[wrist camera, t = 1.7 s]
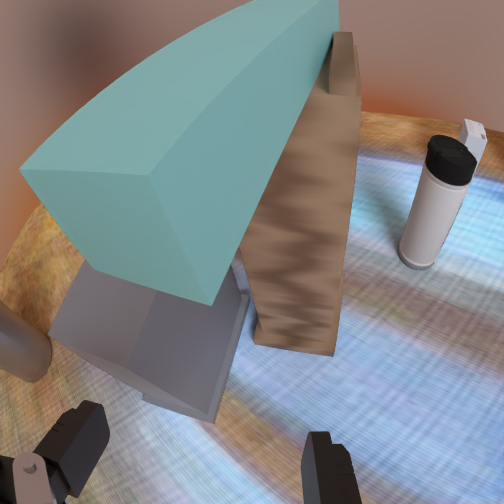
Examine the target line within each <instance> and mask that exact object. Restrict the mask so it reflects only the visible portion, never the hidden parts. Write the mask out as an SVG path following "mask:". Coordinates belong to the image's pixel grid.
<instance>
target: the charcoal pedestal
mask: <svg viewBox="0 0 504 504" xmlns="http://www.w3.org/2000/svg"><path fill="white" fill-rule="evenodd" d="M249 303H250V295H247V294H241V293H240V292H239V289H238V286H237V283H236V280H235V277H234V274H233V271H232V268H231V265H230V266H229V269H228V271H227V273H226V275H225V278H224V280H223V282H222V284H221V286H220V289H219V291H218V293H217V295H216V298H215V300H214V302H213V304H212V306H210V305H206V304H203V303H199V302H196V301H192V300H189V299H185V298H182V297H179V296H175V295H172V294H169V293H165V292H162V291H159V290H155V289H152V288H149V287H146V286H143V285H140V284H136V283H133V282H130V281H127V280H124V279H121V278H118V277H115V276H112V275H109V274H106V273H103V272H100V271H97V270H94V269H93V268H92V266H91V265H90V264H89V263H88V262H87V260H86V259H85V261H84V262H83V264H82V266H81V268H80V270H79V272H78V273H77V275H76V277H75V279H74V281H73V283H72V285H71V287H70V289H69V291H68V293H67V295H66V297H65V299H64V301H63V303H62V305H61V307H60V309H59V311H58V313H57V315H56V317H55V319H54V321H53V324H52V326H51V328H50V330H49V332H48V335H49V336H50V337H51V338H53V339H54V340H56V341H57V342H59V343H60V344H62V345H63V346H65V347H66V348H68V349H69V350H71V351H72V352H74V353H75V354H77V355H78V356H80V357H81V358H83V359H85V360H86V361H88V362H89V363H91V364H93V365H94V366H96V367H97V368H99V369H101V370H102V371H104V372H106V373H108V374H109V375H111V376H113V377H115V378H116V379H118V380H120V381H122V382H123V383H125V384H127V385H129V386H131V387H133V388H134V389H136V390H138V391H140V392H142V393H144V395H143V398H142V400H143V401H145V402H148V403H151V404H154V405H156V406H159V407H162V408H165V409H168V410H171V411H174V412H177V413H180V414H183V415H186V416H189V417H193V418H196V419H199V420H203V421H206V422H210V423H213V424H214V423H215V420H216V416H217V413H218V410H219V406H220V403H221V399H222V396H223V393H224V389H225V386H226V382H227V379H228V376H229V372H230V369H231V365H232V362H233V358H234V355H235V352H236V348H237V345H238V341H239V338H240V334H241V331H242V327H243V324H244V320H245V317H246V313H247V310H248V306H249Z"/></svg>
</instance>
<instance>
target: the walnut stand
mask: <svg viewBox="0 0 504 504" xmlns="http://www.w3.org/2000/svg"><path fill="white" fill-rule="evenodd" d="M361 101H362V95H361V84H360V73H359V64H358V54H357V46H356V45H353V37H352V33H351V32H338V31H335V33H334V41H333V46H332V48H331V50H330V52H329V54H328V56H327V59H326V61H325V63H324V65H323V67H322V69H321V71H320V73H319V75H318V77H317V79H316V81H315V83H314V86H313V88H312V90H311V92H310V94H309V96H308V98H307V100H306V102H305V104H304V107H303V109H302V111H301V113H300V115H299V117H298V119H297V121H296V123H295V126H294V128H293V130H292V132H291V134H290V136H289V138H288V140H287V143H286V145H285V147H284V149H283V151H282V153H281V155H280V158H279V160H278V162H277V164H276V166H275V168H274V170H273V173H272V175H271V177H270V179H269V181H268V183H267V186H266V188H265V190H264V192H263V194H262V196H261V199H260V201H259V203H258V205H257V207H256V209H255V212H254V214H253V216H252V218H251V220H250V222H249V225H248V227H247V229H246V231H245V233H244V236H243V238H242V240H241V242H240V244H239V249H240V252H241V256H242V260H243V263H244V267H245V270H246V274H247V278H248V281H249V285H250V289H251V292H252V296H253V299H254V303H255V307H256V310H257V314H258V317H259V318H258V322H257V325H256V329H255V333H254V337H253V340H254V343H255V344H256V345H262V346H267V347H273V348H279V349H285V350H291V351H297V352H304V353H310V354H317V355H324V356H331V357H333V355H334V352H335V346H336V340H337V333H338V326H339V319H340V311H341V303H342V295H343V286H344V277H345V274H342V268H343V262H344V256H345V250H346V243H347V237H348V230H349V223H350V216H351V208H352V200H353V192H354V184H355V175H356V165H357V155H358V144H359V131H360V118H361Z"/></svg>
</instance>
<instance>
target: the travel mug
mask: <svg viewBox="0 0 504 504" xmlns="http://www.w3.org/2000/svg"><path fill="white" fill-rule="evenodd" d="M427 148H428V151H427V156H426V158H425V161H424V165H423V169H422V173H421V176H420V180H419V184H418V187H417V191H416V194H415V197H414V201H413V204H412V207H411V210H410V214H409V217H408V220H407V223H406V226H405V229H404V232H403V235H402V238H401V241H400V244H399V247H398V253H399V256H400V258H401V260H402V261H403V262H404V263H405V264H406V265H407V266H408V267H410V268H412V269H416V270H425V269H428V268H430V267H431V266H432V265H433V263H434V262H435V260H436V258H437V256H438V254H439V252H440V250H441V248H442V246H443V244H444V242H445V240H446V238H447V236H448V234H449V232H450V229H451V227H452V225H453V223H454V221H455V219H456V216H457V214H458V212H459V210H460V207H461V205H462V203H463V200H464V198H465V195H466V193H467V191H468V188H469V185H470V183H471V180H472V177H473V174H474V171H475V169H476V166H477V160H476V158H475V157H474V156H473V154H472V153H471V152H470V151H469V150H468V148H467V147H466V146H465V145H464V144H463V143H461V142H459V141H458V140H456V139H454V138H451V137H448V136H444V135H435V136H433V137H431V139H430V142H428V146H427Z"/></svg>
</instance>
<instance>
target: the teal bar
mask: <svg viewBox="0 0 504 504" xmlns="http://www.w3.org/2000/svg"><path fill="white" fill-rule="evenodd" d="M335 31H338V32H339V10H338V0H253V1H251V2H248V3H246V4H244V5H242V6H240V7H237V8H235V9H233V10H231V11H229V12H227V13H225V14H223V15H221V16H219V17H217V18H215V19H213V20H211V21H209V22H207V23H205V24H204V25H202V26H200V27H198V28H196V29H194V30H192V31H191V32H189V33H187V34H185V35H184V36H182V37H180V38H179V39H177V40H175V41H174V42H172V43H170V44H169V45H167V46H165V47H164V48H162V49H161V50H159V51H158V52H156V53H154V54H153V55H151V56H150V57H148V58H147V59H145V60H144V61H142V62H141V63H139V64H138V65H136V66H135V67H134V68H132V69H131V70H129V71H128V72H127V73H125V74H124V75H122V76H121V77H120V78H118V79H117V80H116V81H114V82H113V83H112V84H111V85H109V86H108V87H107V88H105V89H104V90H103V91H102V92H100V93H99V94H98V95H97V96H95V97H94V98H93V99H92V100H90V101H89V102H88V103H87V104H86V105H85V106H83V107H82V108H81V109H80V110H79V111H77V112H76V113H75V114H74V115H73V116H72V117H71V118H69V119H68V120H67V121H66V122H65V123H64V124H63V125H62V126H61V127H60V128H59V129H58V130H57V131H55V132H54V133H53V134H52V135H51V136H50V137H49V138H48V139H47V140H46V141H45V142H44V143H43V144H42V145H41V146H40V147H39V148H38V149H37V150H36V151H35V152H34V153H33V155H31V156H30V158H29V159H28V160H27V161H26V162H25V163H24V164H23V165H22V166H21V167H20V168H19V170H20V172H21V173H22V175H23V176H24V178H25V179H26V181H27V182H28V184H29V185H30V187H31V188H32V190H33V191H34V192H35V194H36V195H37V197H38V198H39V199H40V201H41V202H42V204H43V205H44V207H45V208H46V209H47V211H48V212H49V213H50V215H51V216H52V217H53V219H54V220H55V221H56V223H57V224H58V225H59V227H60V228H61V229H62V231H63V232H64V233H65V234H66V236H67V237H68V238H69V239H70V241H71V242H72V243H73V245H74V246H75V247H76V248H77V249H78V251H79V252H80V253H81V254H82V256H83V257H84V258H85V259H86V260H87V262H88V263H89V264H90V265H91V266H92V268H93V269H94V270H97V271H100V272H103V273H106V274H109V275H112V276H115V277H118V278H121V279H124V280H127V281H130V282H133V283H136V284H140V285H143V286H146V287H149V288H152V289H155V290H159V291H162V292H165V293H169V294H172V295H175V296H179V297H182V298H185V299H189V300H192V301H196V302H199V303H203V304H206V305H210V306H212V304H213V302H214V300H215V298H216V295H217V293H218V291H219V289H220V286H221V284H222V282H223V280H224V278H225V275H226V273H227V271H228V269H229V266H230V264H231V262H232V260H233V258H234V255H235V253H236V251H237V249H238V247H239V244H240V242H241V240H242V238H243V236H244V233H245V231H246V229H247V227H248V225H249V222H250V220H251V218H252V216H253V214H254V212H255V209H256V207H257V205H258V203H259V201H260V199H261V196H262V194H263V192H264V190H265V188H266V186H267V183H268V181H269V179H270V177H271V175H272V173H273V170H274V168H275V166H276V164H277V162H278V160H279V158H280V155H281V153H282V151H283V149H284V147H285V145H286V143H287V140H288V138H289V136H290V134H291V132H292V130H293V128H294V126H295V123H296V121H297V119H298V117H299V115H300V113H301V111H302V109H303V107H304V104H305V102H306V100H307V98H308V96H309V94H310V92H311V90H312V88H313V86H314V83H315V81H316V79H317V77H318V75H319V73H320V71H321V69H322V67H323V65H324V63H325V61H326V59H327V56H328V54H329V52H330V50H331V48H332V46H333V41H334V33H335Z"/></svg>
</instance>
